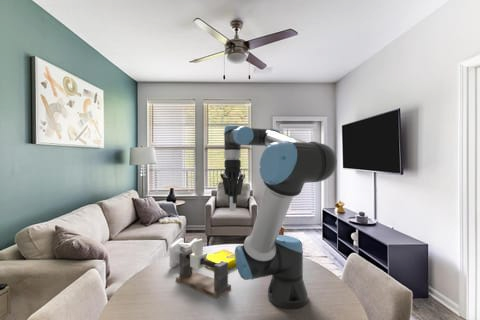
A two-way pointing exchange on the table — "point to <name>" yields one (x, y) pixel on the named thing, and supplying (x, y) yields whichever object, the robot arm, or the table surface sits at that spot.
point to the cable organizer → (178, 251)
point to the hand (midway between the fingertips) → (232, 210)
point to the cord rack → (200, 281)
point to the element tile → (222, 258)
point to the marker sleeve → (198, 255)
